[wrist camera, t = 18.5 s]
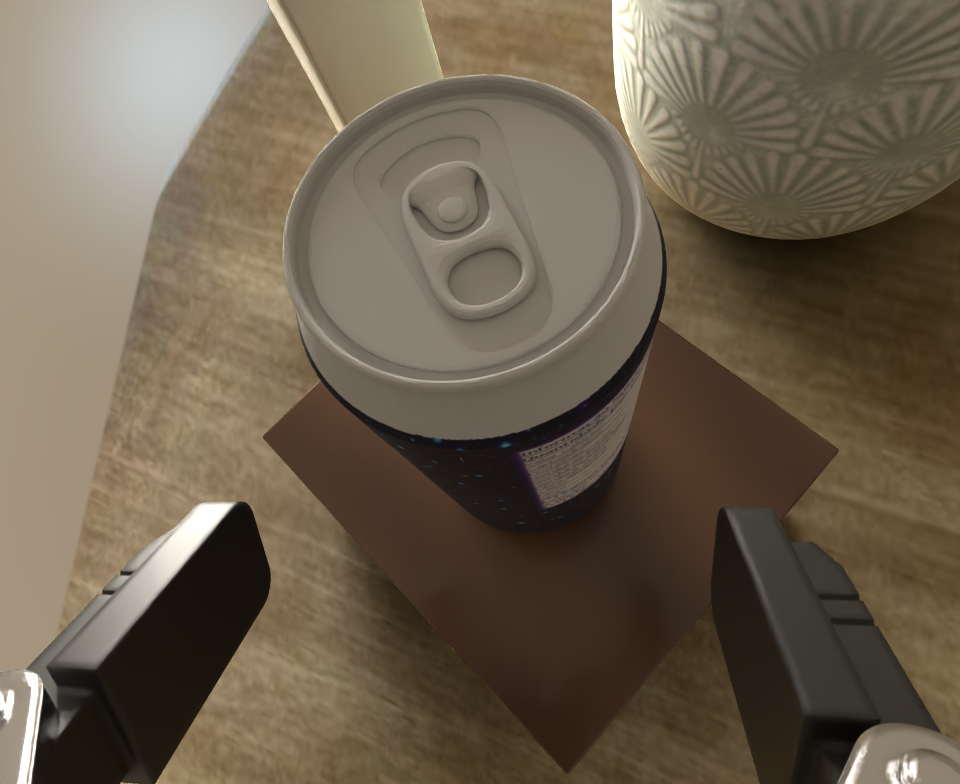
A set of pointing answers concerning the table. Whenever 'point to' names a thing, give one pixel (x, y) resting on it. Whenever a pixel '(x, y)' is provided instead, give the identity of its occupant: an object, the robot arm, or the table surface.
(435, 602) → the shelf
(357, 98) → the box
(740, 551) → the robot arm
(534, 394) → the beverage can
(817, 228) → the planter
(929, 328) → the table surface
